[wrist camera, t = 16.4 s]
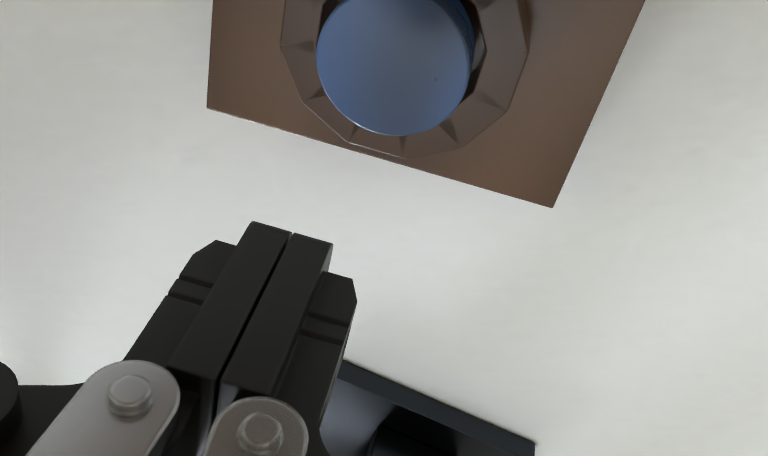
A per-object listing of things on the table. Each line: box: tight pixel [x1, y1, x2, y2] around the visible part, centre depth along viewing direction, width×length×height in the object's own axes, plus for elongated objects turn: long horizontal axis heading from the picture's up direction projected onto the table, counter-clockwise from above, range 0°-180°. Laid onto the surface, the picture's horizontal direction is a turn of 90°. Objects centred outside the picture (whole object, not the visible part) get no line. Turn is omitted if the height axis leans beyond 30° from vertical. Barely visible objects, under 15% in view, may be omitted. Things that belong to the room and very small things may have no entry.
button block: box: [207, 0, 645, 208], centre depth 23 cm, size 13×10×4 cm
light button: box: [316, 0, 475, 136], centre depth 21 cm, size 4×4×2 cm
